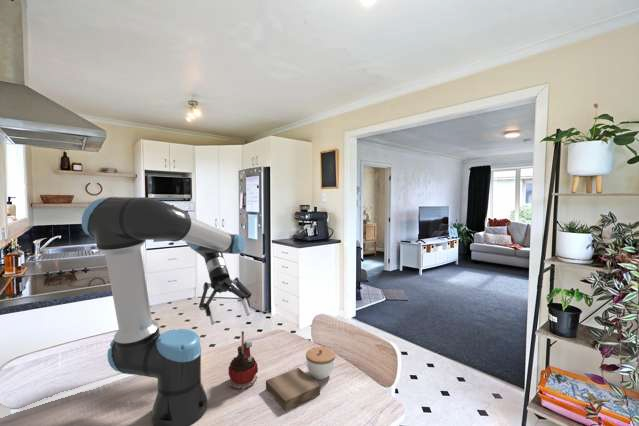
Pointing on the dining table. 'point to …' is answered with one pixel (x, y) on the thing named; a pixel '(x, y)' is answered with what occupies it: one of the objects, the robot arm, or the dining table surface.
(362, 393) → the dining table surface
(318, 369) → the lidded jar
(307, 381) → the plinth
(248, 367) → the cake
